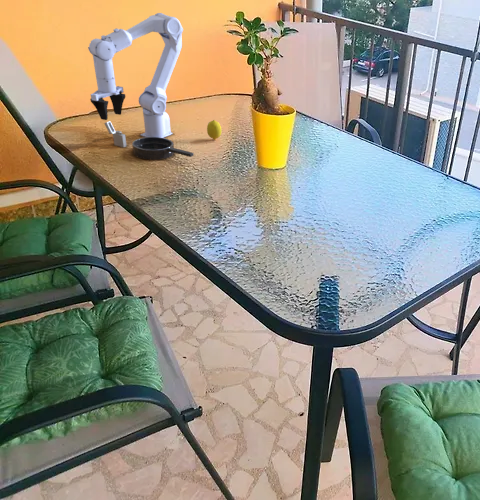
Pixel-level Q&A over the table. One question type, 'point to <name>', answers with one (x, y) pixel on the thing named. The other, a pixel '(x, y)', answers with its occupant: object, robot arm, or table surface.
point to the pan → (152, 148)
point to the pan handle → (181, 152)
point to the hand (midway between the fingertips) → (111, 116)
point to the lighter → (116, 135)
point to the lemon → (214, 129)
